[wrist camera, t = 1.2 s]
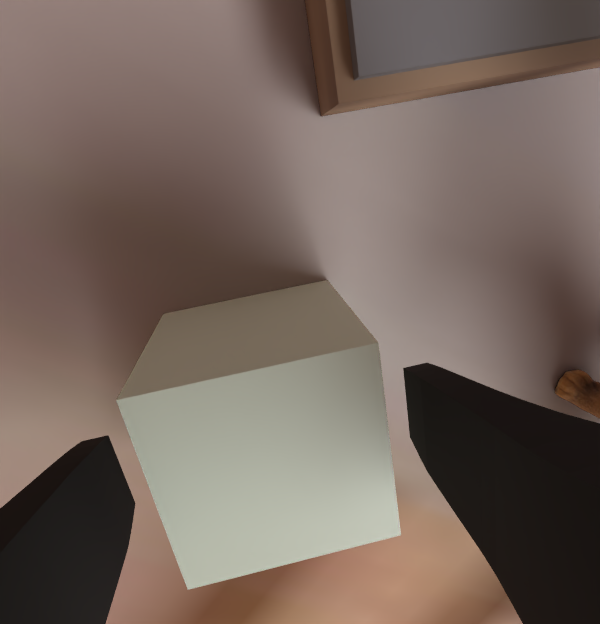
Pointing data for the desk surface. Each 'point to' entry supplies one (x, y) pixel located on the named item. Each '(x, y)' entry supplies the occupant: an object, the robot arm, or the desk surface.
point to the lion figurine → (580, 391)
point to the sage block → (263, 432)
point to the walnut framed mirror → (443, 46)
